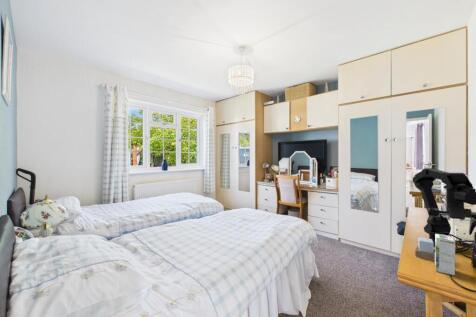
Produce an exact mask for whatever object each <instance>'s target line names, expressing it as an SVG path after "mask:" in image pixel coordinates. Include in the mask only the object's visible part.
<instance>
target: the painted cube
mask: <svg viewBox="0 0 476 317" xmlns="http://www.w3.org/2000/svg"><path fill="white" fill-rule="evenodd" d="M417 246H418V248H419V251H422V252H428V253H433V254H434V249H435V246H434V243H433V241H432V239H429V237H428V238H426V237H421V236H418V237H417Z"/></svg>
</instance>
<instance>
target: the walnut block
mask: <svg viewBox="0 0 476 317" xmlns="http://www.w3.org/2000/svg"><path fill="white" fill-rule="evenodd" d="M414 251H415V252H414V253H415V254H414V255H415V256H416V258H418V259H419V258H420V259H422V258H423V260H426V261H430V262H434V263H435V248H434V254H433V253H428V252H422V251H419V248H418V245H417V246H416V248H415V250H414ZM415 256H414V257H415Z"/></svg>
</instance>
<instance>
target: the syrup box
mask: <svg viewBox="0 0 476 317" xmlns="http://www.w3.org/2000/svg"><path fill="white" fill-rule="evenodd" d="M434 249H435V262H434V267H435V271H436V272H439V273H441V274H447V275H451V276H456V240H455V238H454V237H453V236H450V235H449V236H447V235H441V234H435V246H434Z"/></svg>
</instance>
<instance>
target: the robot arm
mask: <svg viewBox="0 0 476 317" xmlns="http://www.w3.org/2000/svg"><path fill="white" fill-rule="evenodd" d="M436 179H437V180H440V181H441V183H442V184H444V186H443V188H444V189H445V196H446V199H445V202H446V203H445V204H446V207H445V209H446V210H440V208H439V206H438V203H437V201H436V197H435V194H434V192H433V187H434V181H436ZM412 183H413V184H414V186H415V188H416V189H418V191H420V194H421V196H422V199H423V202H424V206H425V208H426V211H427V215H428V218H427V219H426V224H425V225H424V227H423V231H424V233H426V234H428V239H432V241H433V243H434V247H435V234H441V235H447V236H450V233H451V231H452V227H451V224H450V222H449V219H454V220H461V221H464V220H466V218H467V219H469V227H468V234H469V236H471V235H472V234H473V232H474V230H475V228H476V212H475V211H472V208H465V204H468V205H471V206H476V188H474V186H473V183H472V182H471V181H470V179H469V177H468V175H467V174H466V173H464V172H448V171H443V170H440V169H436V168H433V167H432V168H430V167H429V168H427V167H425V168H423V169H422V170H421V171H419V172H417V173H415V175H413V176H412ZM446 216H448V217H449V219H448V217H446Z"/></svg>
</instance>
